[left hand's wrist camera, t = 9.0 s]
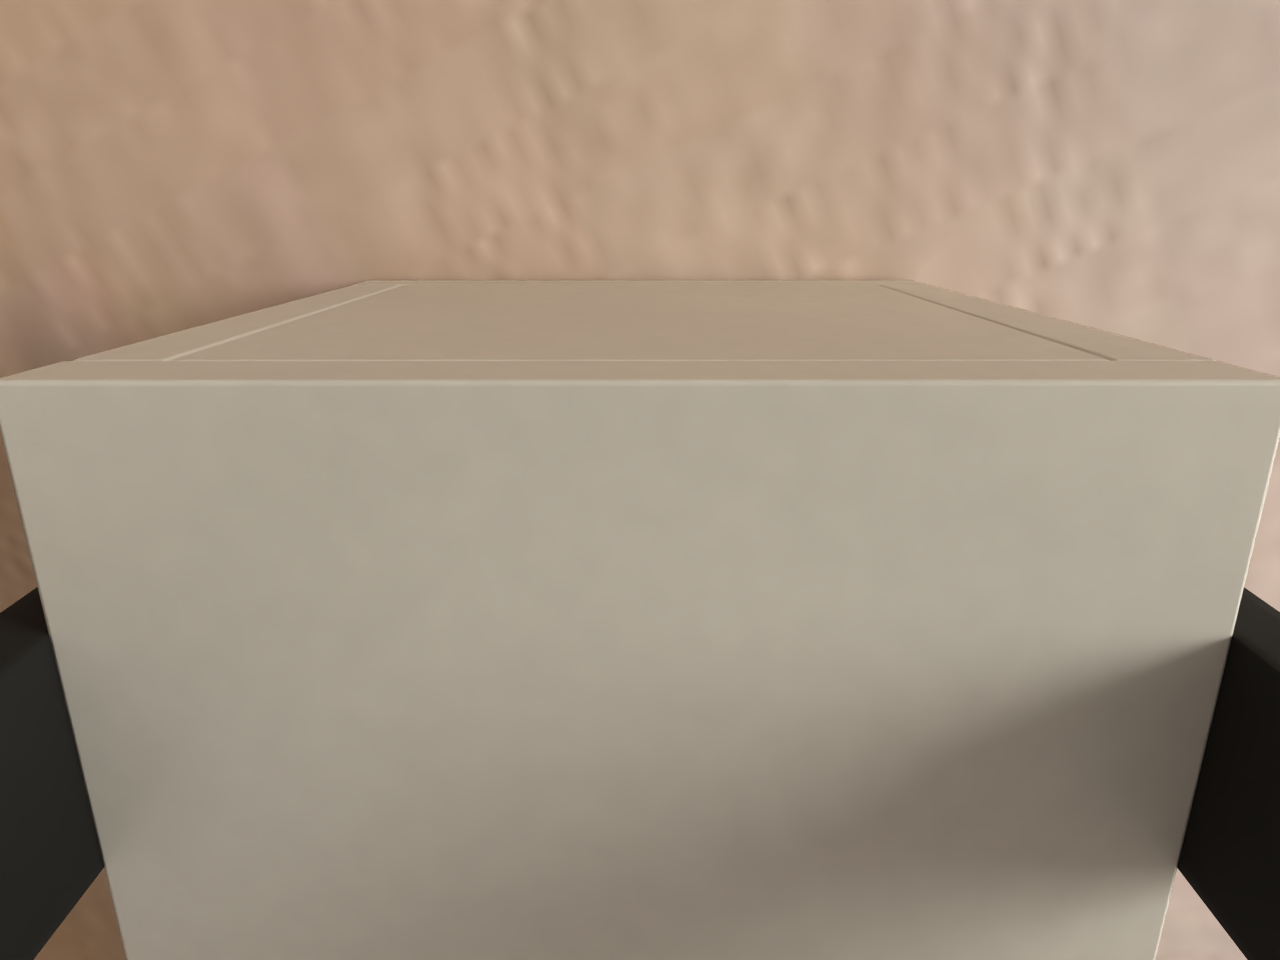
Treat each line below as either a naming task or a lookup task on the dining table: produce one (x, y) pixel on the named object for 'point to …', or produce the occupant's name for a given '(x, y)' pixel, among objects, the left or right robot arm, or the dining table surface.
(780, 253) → the dining table surface
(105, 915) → the dining table surface
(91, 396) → the cabinet
